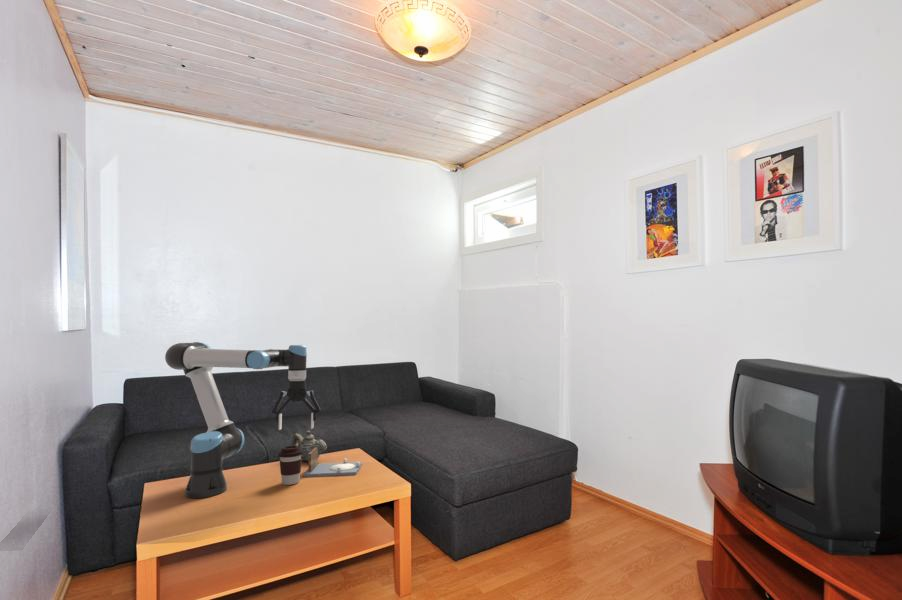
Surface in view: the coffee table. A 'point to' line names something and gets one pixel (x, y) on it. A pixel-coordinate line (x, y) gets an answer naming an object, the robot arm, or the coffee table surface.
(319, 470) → the grey flat slab
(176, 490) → the coffee table surface
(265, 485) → the coffee table surface
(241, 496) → the coffee table surface
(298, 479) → the coffee cup
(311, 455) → the panel
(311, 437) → the teapot
